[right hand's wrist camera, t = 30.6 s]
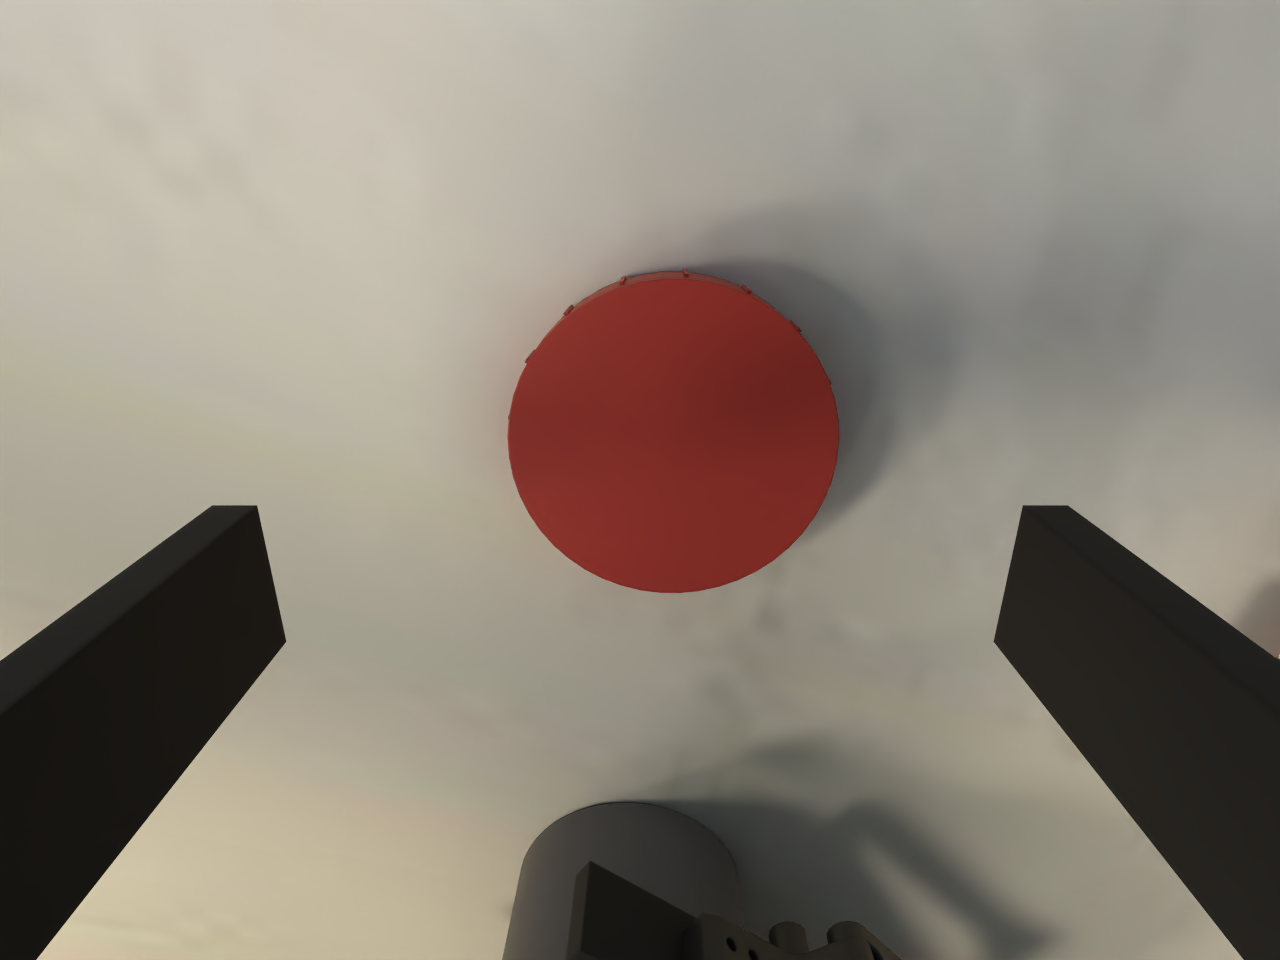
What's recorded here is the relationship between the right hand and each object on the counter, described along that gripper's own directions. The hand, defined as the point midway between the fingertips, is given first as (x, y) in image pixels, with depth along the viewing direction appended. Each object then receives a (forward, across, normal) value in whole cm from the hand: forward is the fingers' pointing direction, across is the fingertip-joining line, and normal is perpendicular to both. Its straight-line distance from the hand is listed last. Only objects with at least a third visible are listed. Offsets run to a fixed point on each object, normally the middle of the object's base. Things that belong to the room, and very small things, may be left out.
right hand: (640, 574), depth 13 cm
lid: (+8, +1, 0) cm, 8 cm away
